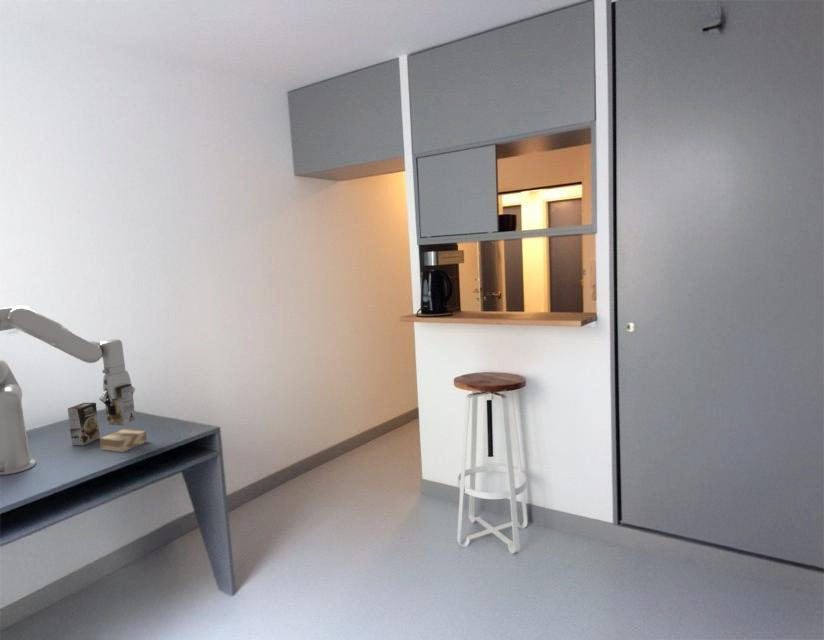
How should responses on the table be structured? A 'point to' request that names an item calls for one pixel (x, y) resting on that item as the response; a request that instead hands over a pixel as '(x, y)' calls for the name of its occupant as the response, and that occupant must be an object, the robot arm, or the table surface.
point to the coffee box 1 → (83, 423)
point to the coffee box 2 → (122, 407)
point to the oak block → (123, 440)
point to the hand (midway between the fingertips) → (120, 411)
